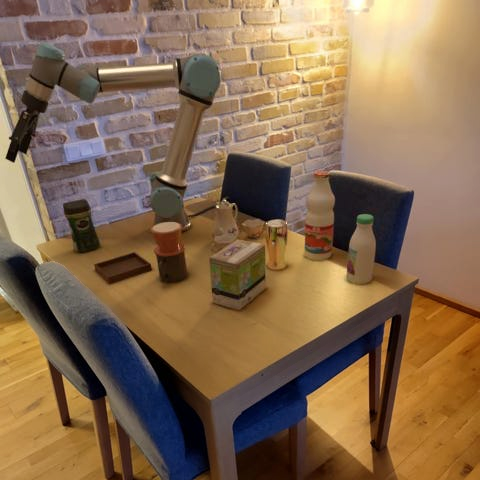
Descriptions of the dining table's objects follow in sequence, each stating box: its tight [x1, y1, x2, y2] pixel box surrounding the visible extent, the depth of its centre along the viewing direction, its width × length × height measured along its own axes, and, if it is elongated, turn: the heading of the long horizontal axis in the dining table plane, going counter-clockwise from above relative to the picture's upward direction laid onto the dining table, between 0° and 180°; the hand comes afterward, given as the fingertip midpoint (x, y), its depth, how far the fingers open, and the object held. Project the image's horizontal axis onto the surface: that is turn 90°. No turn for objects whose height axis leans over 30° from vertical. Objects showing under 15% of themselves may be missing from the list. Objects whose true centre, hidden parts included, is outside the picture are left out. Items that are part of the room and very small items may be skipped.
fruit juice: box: [304, 170, 336, 261], centre depth 143 cm, size 9×9×28 cm
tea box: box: [208, 238, 267, 311], centre depth 126 cm, size 15×10×15 cm, turn 148°
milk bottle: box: [346, 213, 377, 285], centre depth 129 cm, size 8×8×20 cm
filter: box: [150, 222, 186, 256], centre depth 137 cm, size 10×10×9 cm
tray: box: [93, 251, 153, 285], centre depth 149 cm, size 15×13×2 cm
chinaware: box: [210, 197, 266, 253], centre depth 161 cm, size 28×17×17 cm, turn 148°
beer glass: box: [265, 219, 289, 271], centre depth 141 cm, size 7×7×15 cm
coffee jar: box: [62, 198, 101, 253], centre depth 163 cm, size 10×8×19 cm
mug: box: [155, 250, 188, 284], centre depth 139 cm, size 12×9×10 cm
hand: (16, 156), depth 147 cm, fingers open, 13 cm apart
